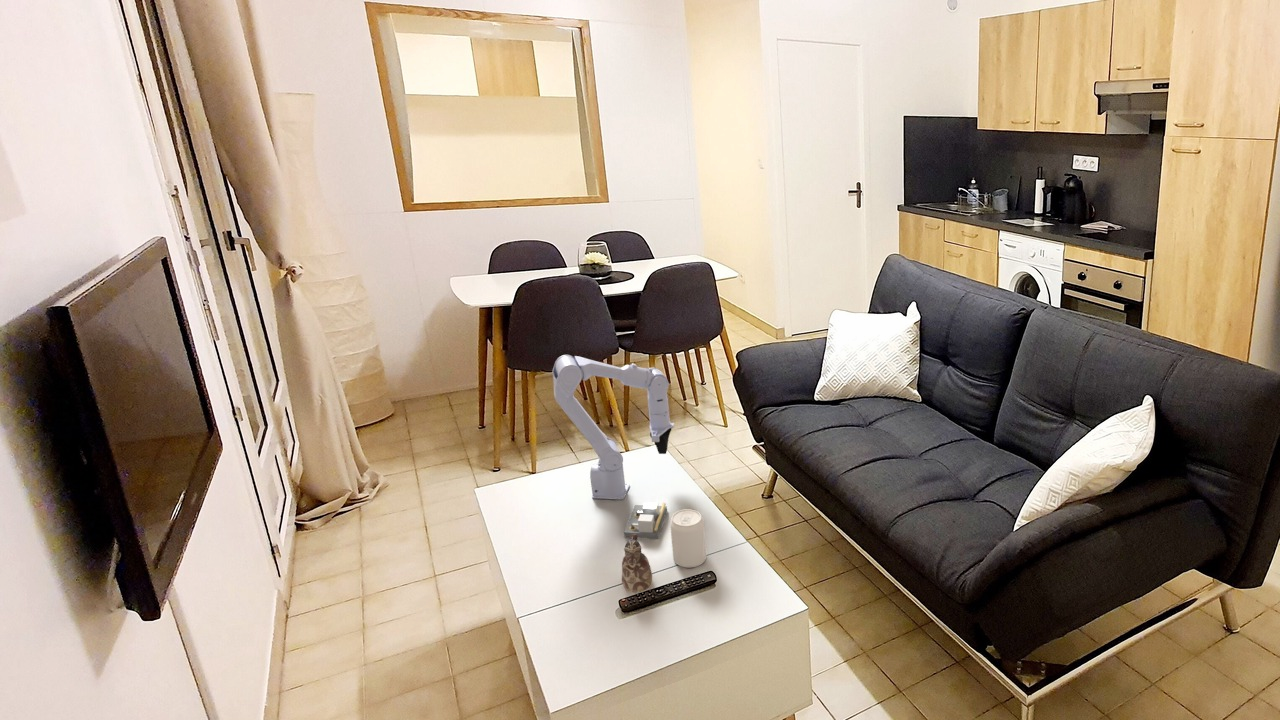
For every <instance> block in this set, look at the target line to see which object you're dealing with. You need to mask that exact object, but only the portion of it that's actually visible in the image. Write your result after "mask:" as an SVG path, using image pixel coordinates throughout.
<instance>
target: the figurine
mask: <svg viewBox="0 0 1280 720" xmlns="http://www.w3.org/2000/svg"><path fill="white" fill-rule="evenodd" d="M623 551H624V556H623V558H622V562H621V573H622V574H621V583H622V585H623V587H624V588H625V590H626V591H627V592H628V593H634V594H638V593H642V592H645V591H647V590H649V589H650V587H651V586H652V583H653V573H652V568H651V565H650V562H649V560H648V559H649V558H648V557H647V556H646V555H645V554H644V553H642V545H641V543H640V542H639V540H638V538H637V535H635V534H633V538H632V539H629V540H627V542H626V543H625V545H624V548H623ZM641 591H642V592H641ZM637 592H638V593H637Z"/></svg>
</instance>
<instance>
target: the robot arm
mask: <svg viewBox="0 0 1280 720" xmlns="http://www.w3.org/2000/svg"><path fill="white" fill-rule="evenodd" d="M591 377H600V378H607V379H613V380H619V381H620V383H621V384H622V386H623V385H624V386H626V387H627V386H628V387H632V388H638V389H643V390H646V391H647V405H648V416H649V418H648V419H649V430H650V433H649V436H650V438H651V442H652V443H654V444H655V447H656V450H657V452H658V454H659V455H666V454H667V451H668V444H669V439H670V434H671V432H672V429H674V428H675V423H674V422H671V420H670V408H669V399H668V389H669V388H670V382H669V381H668V378H667V377H666V375H665V374H664V372H663V371H661V370H660V369H659V368H656V367H648V368H645V367H640V366H638V365H637V364H635V363H633V362H632V363H631V364H625V365H624V366H622V367H620V366H616V365H612V364H608V363H604V362H601V361H596V360H593V359H589V358H586V357H582V356H580V355H579V356H577V355H574V356H572V355H570V354H563V355H561V356H559V357H557V359H556V360H555V362H554V365H553V368H552V379H553V382H552V383H553V396H554V399H555V402H556V403H557V404H558V406H559V407H560V408H561V409H562V410H563V412H564V413H565V414H566V415H567V417H568V418H569V419H570V421H571V422H572V423H573V424H574V426H576V428H577V429H578V430H579V432H580V433H581V435H582V436H583V437H584V438H585V440H586V441H587V442H588V443H589V444H590V445H591V447H592V449H593V450H594V452H595V453H596V456H597V457H598V462H597V463H593V464H592V465H591V468H590V472H589V474H590V475H589V479H590V485H591V486H590V488H591V493H592V496H591V498H592V499H603V500H605V499H606V500H624V499H625V497H626V494H627V492H628V491H629V488H630V483H626V481H625V472H624V464H623V463H624V457H623V454H622V453H621V452H620V450H619V448H618V445H617V443H616V441H615V440H614V439H613V438H611V437H608V436H607V435H606V434H605V432H603V431H602V430H601V429H600V428H599V426H598V425H597V423H596V422H595V421H594V420H593V418H592V417H591V416H590V415H589V413H588V412H587V410H585V408H584V407H583V406H582V404H581V403H580V402H579V400H578V399H577V398H576V397H575V396H574V395H575V391H576V390H577V388H578V387H579V384H580V383H581V381H582V379H583V381H584V382H585V381H588V380H589V379H590V378H591Z"/></svg>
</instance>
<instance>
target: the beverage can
mask: <svg viewBox="0 0 1280 720" xmlns="http://www.w3.org/2000/svg"><path fill="white" fill-rule="evenodd" d="M669 523H670V525H669V526H670V535H671V536H670V537H671V548H672V556H673V557H672V558H673V562H674V563H675V564H677V565H678V566H680V567H683V568H696V567H699V566H700V565H702V564H703V563H704V562H706V559H707V545H706V544H707V543H706V530H705V520H704V517H703V516H702V514H701V513H700V511H698V510H696V509H689V508H687V509H686V508H685V509H679V510H677V511H676V512H674V513H673V514H672V516H671V519H670V522H669Z"/></svg>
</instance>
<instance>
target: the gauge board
mask: <svg viewBox="0 0 1280 720" xmlns="http://www.w3.org/2000/svg"><path fill="white" fill-rule="evenodd" d="M643 506H644V504H634V506H633V508H632V511H631V513H630V516H629V519H628V521H627V523H626V526H625V529H624V531H623V537H624V538H630V539H631V538H633V534H635V535H637V539H649V540H651V539H652V540H659V537H660V534H661V532H662V531H661V530H662V528H663V525H664V522H665V519H666V516H667V512H668V508H667V507H668V506H667V505H666V502H663V503H662V505H658V507H659V514H658V517H657V519H655V518H654V515H646V514H639V515H636V512H637V511H643Z"/></svg>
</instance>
